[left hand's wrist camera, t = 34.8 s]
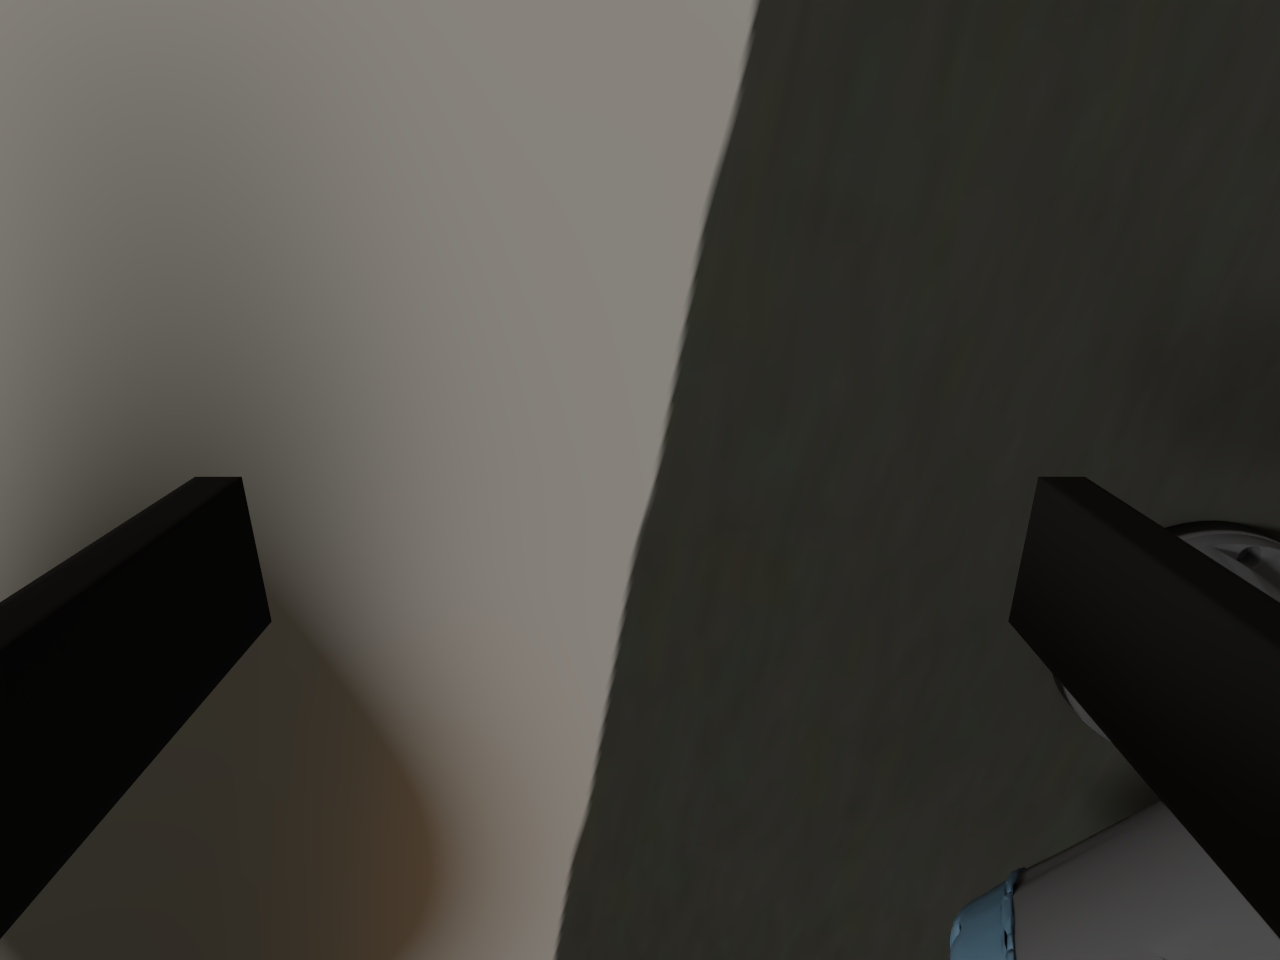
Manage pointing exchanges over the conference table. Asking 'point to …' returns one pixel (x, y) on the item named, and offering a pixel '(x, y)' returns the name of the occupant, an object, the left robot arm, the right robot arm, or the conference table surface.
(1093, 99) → the conference table surface
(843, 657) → the conference table surface
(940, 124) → the conference table surface
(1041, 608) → the left robot arm
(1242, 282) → the conference table surface
